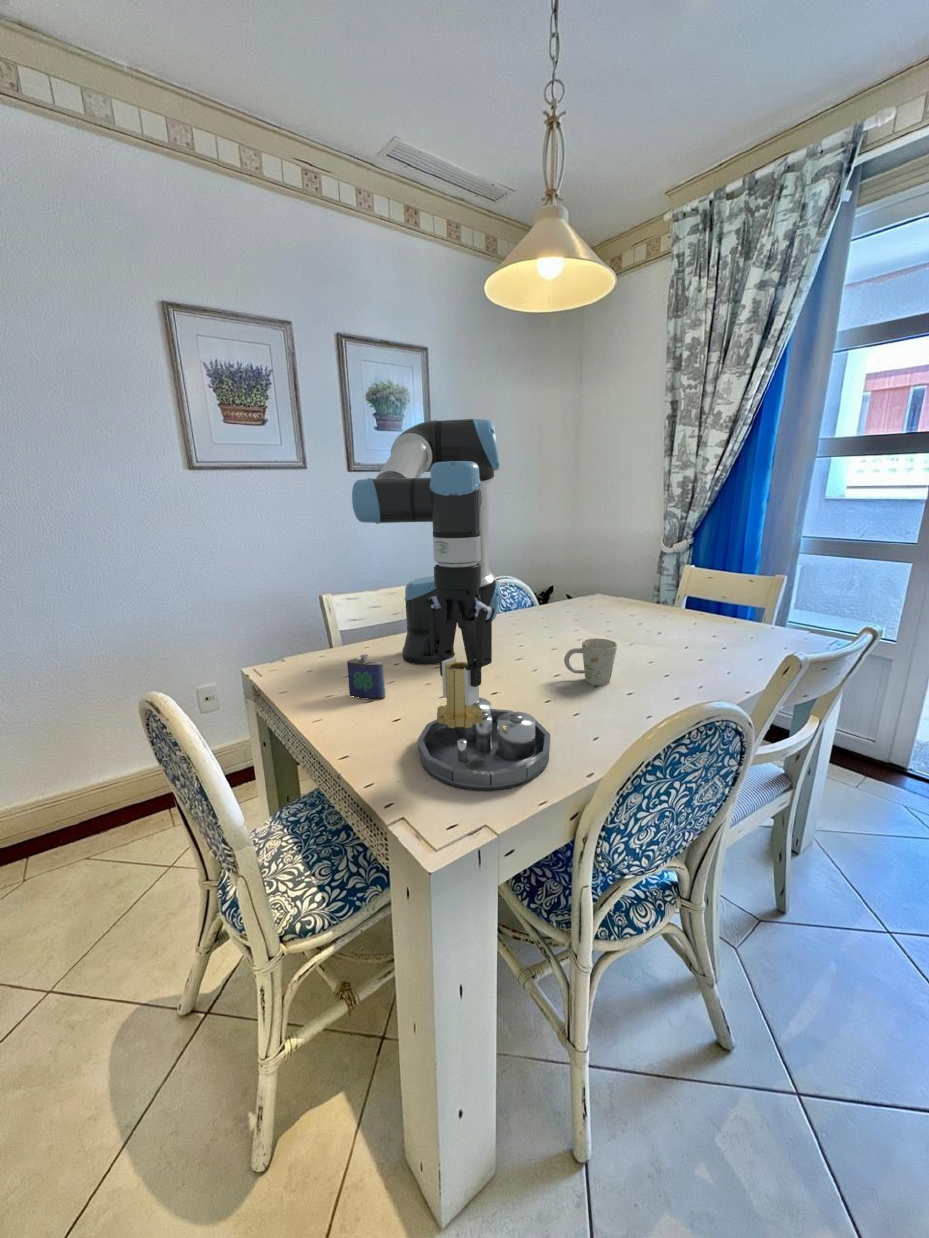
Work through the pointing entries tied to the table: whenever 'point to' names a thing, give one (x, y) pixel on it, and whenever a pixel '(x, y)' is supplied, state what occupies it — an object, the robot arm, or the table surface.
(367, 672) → the flask
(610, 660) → the mug
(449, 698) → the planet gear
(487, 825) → the table surface
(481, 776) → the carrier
